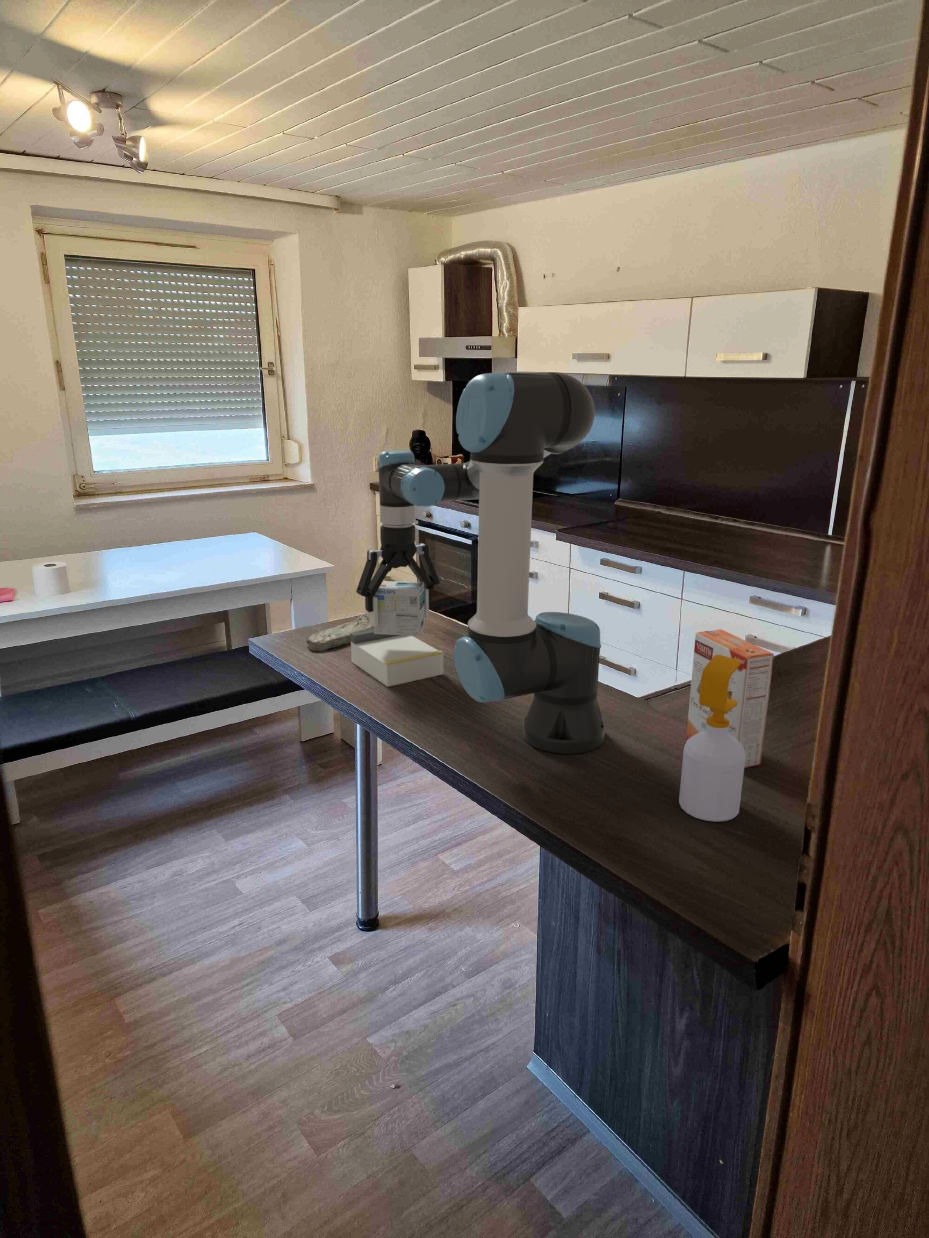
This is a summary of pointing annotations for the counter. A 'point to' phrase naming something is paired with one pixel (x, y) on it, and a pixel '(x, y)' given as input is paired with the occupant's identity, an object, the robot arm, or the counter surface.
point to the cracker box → (734, 690)
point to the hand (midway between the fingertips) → (399, 620)
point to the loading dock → (395, 657)
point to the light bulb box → (400, 608)
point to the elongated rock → (338, 634)
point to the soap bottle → (713, 752)
